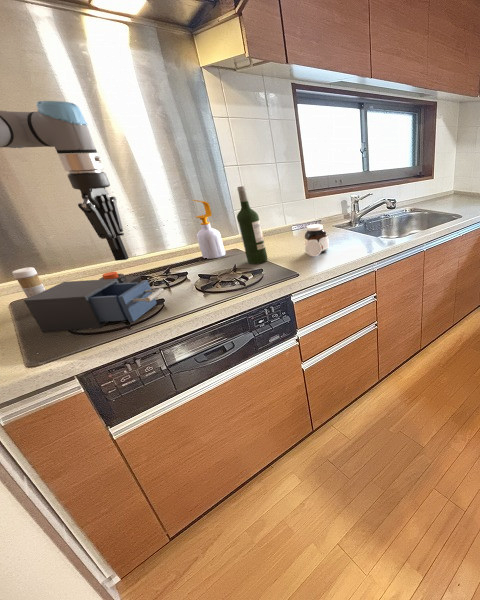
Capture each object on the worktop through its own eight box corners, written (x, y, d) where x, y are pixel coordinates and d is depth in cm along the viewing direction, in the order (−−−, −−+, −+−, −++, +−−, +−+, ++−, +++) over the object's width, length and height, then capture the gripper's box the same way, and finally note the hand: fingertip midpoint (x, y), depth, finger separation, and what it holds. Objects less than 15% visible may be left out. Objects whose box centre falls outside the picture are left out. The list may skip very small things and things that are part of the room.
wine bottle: (268, 262, 135) (251, 187, 122) (247, 265, 132) (228, 188, 119) (267, 257, 141) (251, 185, 128) (248, 259, 139) (230, 186, 126)
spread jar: (325, 247, 152) (322, 222, 147) (334, 253, 144) (331, 227, 139) (300, 252, 146) (296, 226, 141) (308, 258, 138) (304, 231, 133)
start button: (101, 280, 111) (99, 276, 110) (109, 276, 114) (107, 271, 114) (113, 280, 111) (111, 275, 110) (121, 275, 115) (119, 271, 114)
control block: (87, 294, 109) (81, 283, 108) (107, 283, 118) (103, 273, 117) (124, 292, 110) (120, 281, 109) (142, 281, 119) (138, 271, 118)
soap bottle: (199, 257, 144) (181, 200, 133) (219, 251, 150) (203, 197, 140) (209, 260, 139) (192, 201, 128) (229, 255, 146) (214, 198, 135)
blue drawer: (173, 302, 100) (165, 279, 97) (152, 320, 90) (141, 295, 86) (110, 306, 98) (99, 283, 95) (81, 325, 88) (67, 299, 85)
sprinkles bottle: (54, 305, 102) (32, 265, 96) (58, 309, 100) (35, 268, 94) (34, 311, 99) (9, 270, 93) (37, 315, 96) (12, 273, 90)
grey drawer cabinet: (129, 307, 100) (117, 278, 96) (100, 328, 89) (84, 296, 84) (79, 310, 99) (63, 281, 94) (42, 332, 87) (23, 300, 83)
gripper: (87, 173, 78) (125, 265, 88) (116, 169, 89) (147, 251, 100) (50, 174, 76) (93, 268, 87) (84, 170, 88) (119, 254, 98)
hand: (122, 259), depth 93 cm, fingers closed
